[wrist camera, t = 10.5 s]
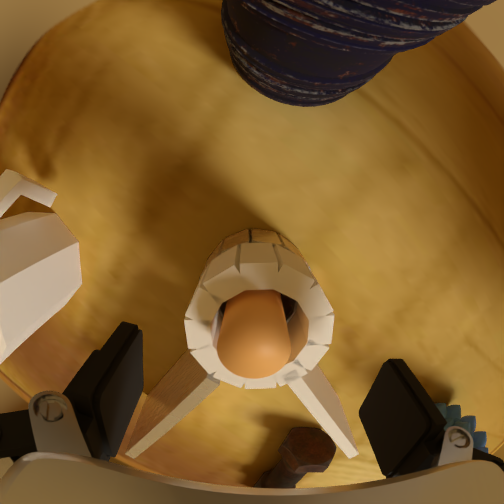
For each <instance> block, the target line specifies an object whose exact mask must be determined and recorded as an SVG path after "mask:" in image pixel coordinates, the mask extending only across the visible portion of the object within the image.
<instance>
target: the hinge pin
mask: <svg viewBox="0 0 504 504" xmlns="http://www.w3.org/2000/svg"><path fill="white" fill-rule="evenodd" d="M290 353H291V343H290V338H289V333H288V328H287V324H286V319H285V314H284V309H283V305H282V300H281V295H280V292H278V291H276V290H274V289H265V290H245V291H243V292H241V293H239V294H237V295H236V296H234V297H232V298H230V299H229V300H227V303H226V308H225V312H224V316H223V320H222V325H221V329H220V333H219V338H218V342H217V354H218V357H219V359H220V361H221V363H222V364H223V366H224V367H225V368H226V369H228V370H229V371H230V372H232V373H233V374H235V375H238V376H240V377H244V378H250V379H258V378H264V377H268V376H270V375H273V374H275V373H276V372H278V371H279V370H280V369H282V368H283V367H284V365H285V364H286V363H287V361H288V359H289V357H290Z"/></svg>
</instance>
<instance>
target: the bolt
mask: <svg viewBox="0 0 504 504" xmlns="http://www.w3.org/2000/svg"><path fill="white" fill-rule="evenodd" d="M278 451H279V453H280V454H281V455H282V457H283V458H282V459H281V461H280V462H279V463H278V464H277V465H276V467H275V468H274V469H273V471H269V472H265V473H264V474H263V475H262V476H261V478H260V479H259V480H258V482H257V483H256V484H255V486H254V487H253V488H275V489H292V488H295V487H296V486H295V484H296V483H297V482H298V481H299V480H300V479H301V478H302V477H303V476H304V475H305V474H306V473H307V472H324V471H325V470H326V469H327V468H328V466H329V464H330V463H331V461H332V459H333V457H334V454H335V452H336V446H335V444H334V442H333V440H332V439H331V437H330V436H329V435H328V434H326V433H325V432H324V431H322V430H319V429H317V428H309V427H296V428H293V429H292V430H291V431H290V433H289V434H288V436H287V437H286V439H285V440H284V442H283V443H282V445H281V446H280V448H279V449H278Z"/></svg>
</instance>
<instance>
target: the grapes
mask: <svg viewBox="0 0 504 504" xmlns="http://www.w3.org/2000/svg"><path fill="white" fill-rule="evenodd" d="M435 405H436V406H437V408H438V409H439V411H440V412H441V414H442V415H443V417H444V418H445V420H446V421H447V424H446V426H445V427H444V430H445V431H446V430H447V429H448V428H449V427H451V426H458V427H462V428H464V429H465V430H467V431H468V432H469V433H470V435H471V436H472V438H473V448H476V449H478V450H481V451H483V452H486V453H488V448H486V447H485V445H486V432H483V431H477V432H474V431H475V428H476V418H475V416H464V417H462V418H461V408H460V405H450V406H446V403H436V404H435ZM460 418H461V419H460Z"/></svg>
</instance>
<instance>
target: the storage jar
mask: <svg viewBox="0 0 504 504" xmlns="http://www.w3.org/2000/svg"><path fill="white" fill-rule="evenodd" d="M494 1H496V0H223V2H222V10H221V18H222V25H223V28H224V33H225V38H226V41H227V44H228V48H229V51H230V56H231V59H232V62H233V64H234V66H235V68H236V70H237V72H238V73H239V74H240V75H241V77H242V78H243V79H244V80H245V81H246V82H247V83H248V84H249V85H250V86H251V87H252V88H254V89H255V90H256V91H258V92H259V93H261V94H263V95H264V96H266V97H268V98H270V99H273V100H275V101H278V102H280V103H284V104H288V105H293V106H302V107H312V106H320V105H326V104H329V103H332V102H335V101H337V100H339V99H341V98H343V97H344V96H346V95H347V94H348V93H350V92H352V91H354V90H356V89H358V88H360V87H361V86H363V85H364V84H365V83H367V82H368V81H369V80H371V79H372V78H373V77H374V76H375V75H376V74H377V73H378V72H380V71H381V70H382V69H383V68H384V67H385V66H386V65H387V64H388V63H389V62H390V61H391V59H392V57H393V56H394V55H395V54H396V53H398V52H404V51H407V50H409V49H414V48H416V47H419V46H422V45H425V44H426V43H428V42H429V41H431V40H432V39H434V38H435V37H436V36H438V35H441V34H443V33H444V32H446V31H448V30H450V29H451V28H453V27H455V26H456V25H458V24H460V23H461V22H463V21H464V20H465V19H466V18H467V16H468V15H470V14H472V13H473V12H475V11H477V10H478V9H480V8H482V6H483V5H489V4H491V3H492V2H494Z"/></svg>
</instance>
